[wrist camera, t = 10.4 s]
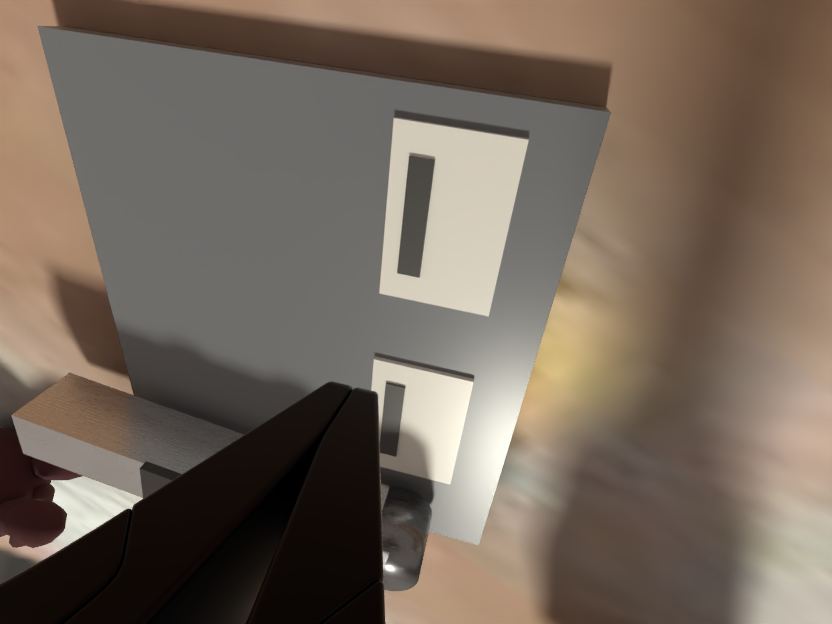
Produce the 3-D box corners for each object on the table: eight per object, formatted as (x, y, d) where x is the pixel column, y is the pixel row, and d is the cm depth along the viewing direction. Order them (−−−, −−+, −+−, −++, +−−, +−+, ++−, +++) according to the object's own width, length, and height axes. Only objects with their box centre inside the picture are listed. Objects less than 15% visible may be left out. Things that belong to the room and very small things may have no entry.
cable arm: (439, 500, 22) (424, 569, 19) (423, 537, 23) (407, 606, 20) (69, 368, 23) (3, 415, 20) (78, 412, 24) (18, 462, 21)
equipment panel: (480, 527, 24) (477, 550, 23) (161, 441, 27) (145, 459, 26) (606, 107, 14) (611, 113, 13) (63, 26, 16) (29, 26, 15)
